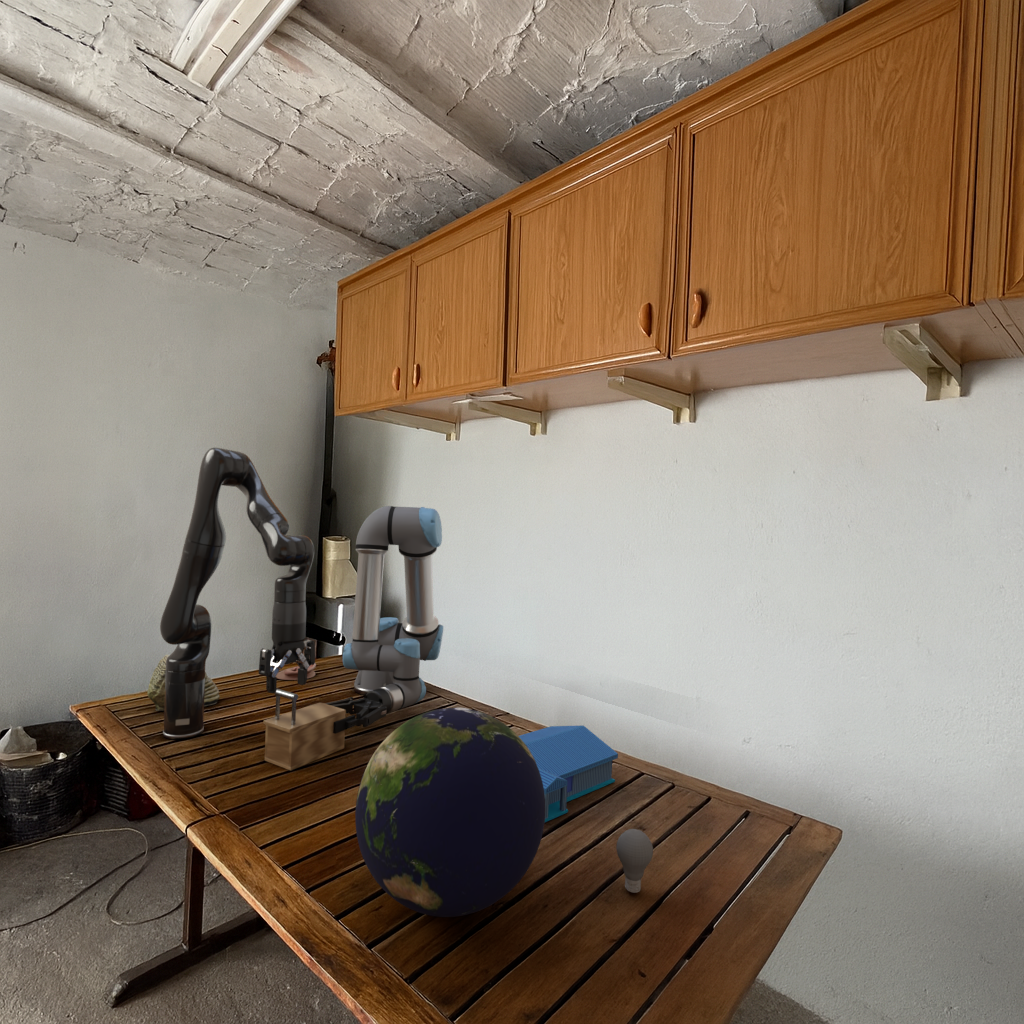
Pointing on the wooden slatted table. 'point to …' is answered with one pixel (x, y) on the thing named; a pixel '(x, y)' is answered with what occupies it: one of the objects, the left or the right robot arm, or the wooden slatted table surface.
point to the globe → (450, 812)
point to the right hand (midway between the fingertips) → (320, 723)
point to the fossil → (158, 687)
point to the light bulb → (634, 857)
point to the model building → (569, 764)
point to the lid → (300, 714)
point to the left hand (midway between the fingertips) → (287, 688)
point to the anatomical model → (295, 673)
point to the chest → (302, 744)
